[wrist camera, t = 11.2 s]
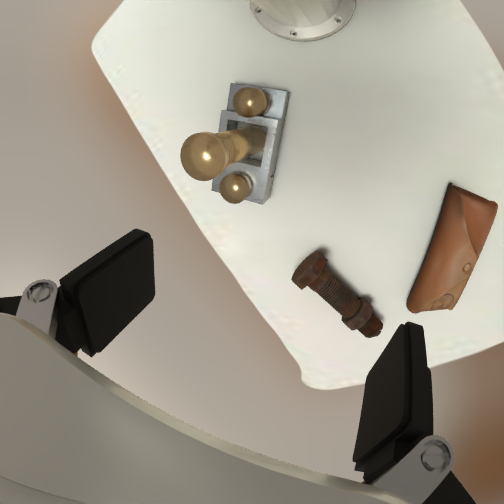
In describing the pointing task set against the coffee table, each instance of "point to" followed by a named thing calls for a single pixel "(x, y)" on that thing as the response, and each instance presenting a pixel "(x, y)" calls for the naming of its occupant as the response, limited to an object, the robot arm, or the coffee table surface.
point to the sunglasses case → (452, 250)
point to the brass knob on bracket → (260, 172)
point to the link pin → (219, 150)
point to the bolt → (337, 295)
